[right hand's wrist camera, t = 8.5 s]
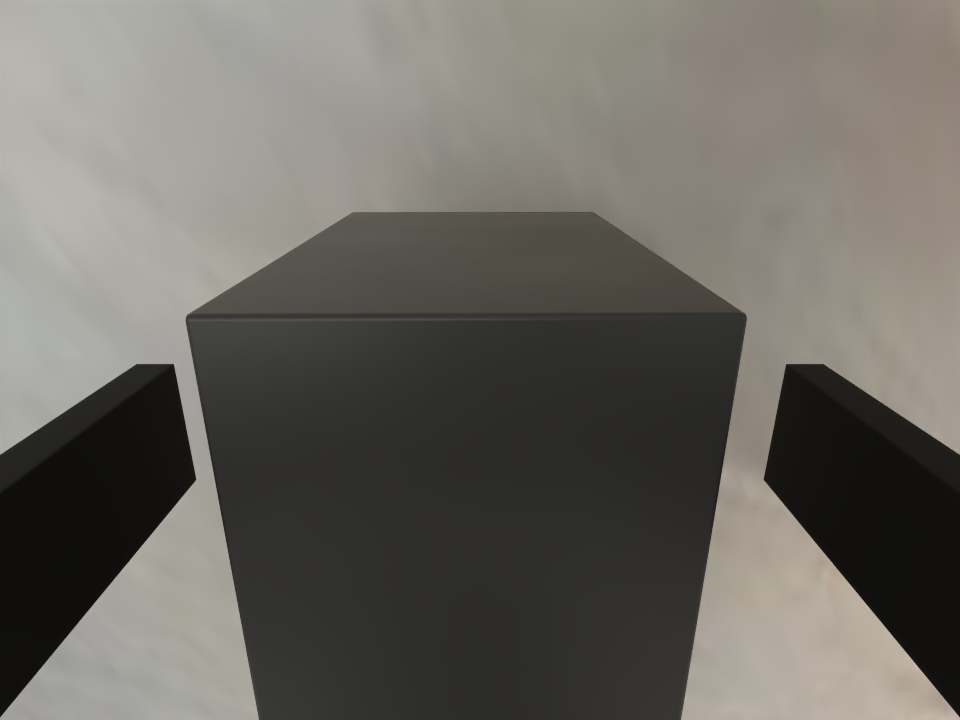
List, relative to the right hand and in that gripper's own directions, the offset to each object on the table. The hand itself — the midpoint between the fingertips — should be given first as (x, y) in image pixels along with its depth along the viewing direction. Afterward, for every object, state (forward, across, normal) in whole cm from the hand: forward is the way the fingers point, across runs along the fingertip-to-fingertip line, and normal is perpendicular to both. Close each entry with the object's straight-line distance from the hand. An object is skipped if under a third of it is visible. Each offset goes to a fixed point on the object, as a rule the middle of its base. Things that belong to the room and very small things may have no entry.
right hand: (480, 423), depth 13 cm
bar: (+2, 0, -9) cm, 10 cm away
